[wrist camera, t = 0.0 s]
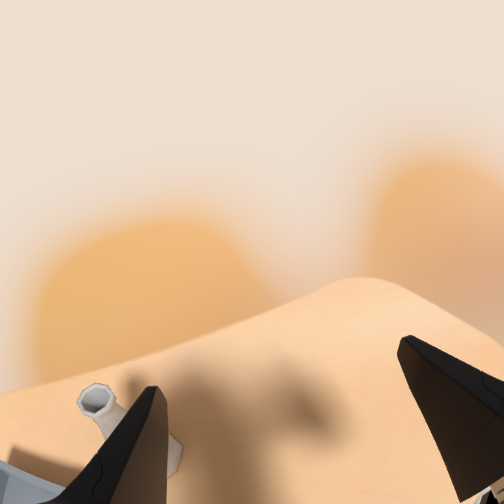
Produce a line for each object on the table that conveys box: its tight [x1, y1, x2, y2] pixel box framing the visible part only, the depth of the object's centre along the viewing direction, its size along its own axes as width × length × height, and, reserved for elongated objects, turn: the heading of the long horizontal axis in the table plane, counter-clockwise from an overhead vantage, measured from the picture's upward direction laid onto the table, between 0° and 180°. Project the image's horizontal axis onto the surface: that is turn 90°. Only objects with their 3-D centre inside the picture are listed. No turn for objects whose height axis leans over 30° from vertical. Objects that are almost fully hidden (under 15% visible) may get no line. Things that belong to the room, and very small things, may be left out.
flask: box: [77, 383, 183, 478], centre depth 17 cm, size 7×7×10 cm
